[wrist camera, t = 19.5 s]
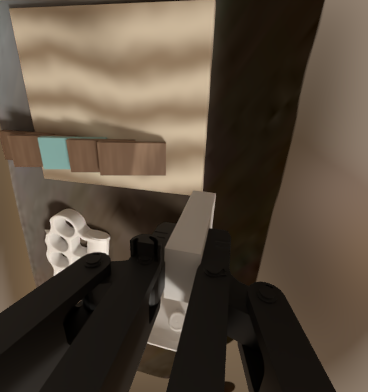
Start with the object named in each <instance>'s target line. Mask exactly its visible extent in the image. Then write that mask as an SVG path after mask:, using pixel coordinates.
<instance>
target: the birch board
mask: <svg viewBox="0 0 368 392" xmlns="http://www.w3.org/2000/svg"><path fill="white" fill-rule="evenodd" d="M215 10H216V1H215V0H191V1H169V2H146V3H123V4H100V5H77V6H55V7H32V8H9V11H10V15H11V20H12V25H13V30H14V35H15V39H16V44H17V49H18V54H19V59H20V63H21V68H22V73H23V78H24V83H25V87H26V92H27V97H28V102H29V107H30V111H31V116H32V121H33V126H34V130H35V132H41V133H54V134H55V135H77V137H107V139H135V141H152V142H166V176H100V172H71V169H44V167H42V169H43V174H44V178H46V179H55V180H63V181H72V182H81V183H89V184H98V185H106V186H115V187H124V188H132V189H141V190H149V191H158V192H167V193H175V194H184V195H191V194H192V192H193V191H201V192H203V178H204V164H205V150H206V136H207V122H208V108H209V94H210V80H211V66H212V52H213V38H214V24H215Z"/></svg>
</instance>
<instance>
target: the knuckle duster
mask: <svg viewBox="0 0 368 392" xmlns="http://www.w3.org/2000/svg"><path fill="white" fill-rule="evenodd" d="M65 220H67V221H68V222H70V223H71V224H72V225H73V227H74V228H72V227H70V226H69V225H68V224H67V223H66V222H65ZM50 224H51V229H50V230H45V232H46V233H47V234H46V238H45V242H46V244H47V253H46V255H47V258H48V261H49V262H50V263H51V264H52V266H53V268H54V276H55V275H56V274H58V273H59V272H61V271H62V270H63V269H65V268H66V267H68V266H69V265H71V264H72V263H74V262H75V261H76V260H78V259H79V258H81V257H82V256H84V255H86V254H89V253H93V252H102V253H106V254H107V255H109V240H110V236H109V234H108V233H106V232H102V231H99V230H93V229H91V228H89V227H88V226H87V225H86V222H85V219H84V218H83V216H82V215H81V214H80V213H79V212H77V211H75V210H73V209H64V210H62V211H61V212H59V213H57V214H56V215H54V216H53V217H51V219H50ZM60 236H61V237H63V238H64V239H65V240H66V241H67V242H66V241H65V240H63V239H62V238H61V237H60ZM80 238H81V239H83V240H86V241H87V248H86V247H83V246H81V244H80ZM61 253H62V254H64V255H65V256H66V257H67V258H65V257H64V256H63V255H62V254H61Z"/></svg>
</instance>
